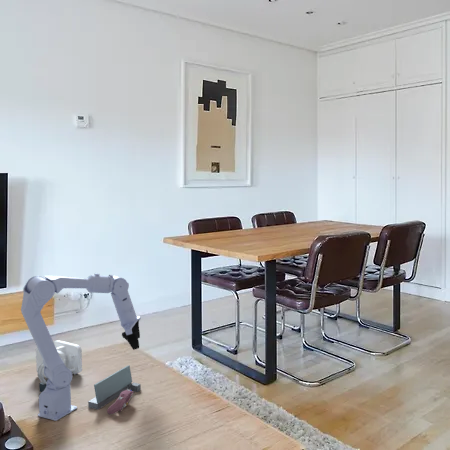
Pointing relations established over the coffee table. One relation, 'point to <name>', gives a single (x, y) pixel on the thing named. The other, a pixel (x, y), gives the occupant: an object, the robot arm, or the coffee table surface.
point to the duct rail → (113, 396)
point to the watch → (41, 378)
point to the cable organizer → (65, 356)
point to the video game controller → (120, 402)
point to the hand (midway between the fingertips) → (136, 343)
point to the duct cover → (112, 384)
